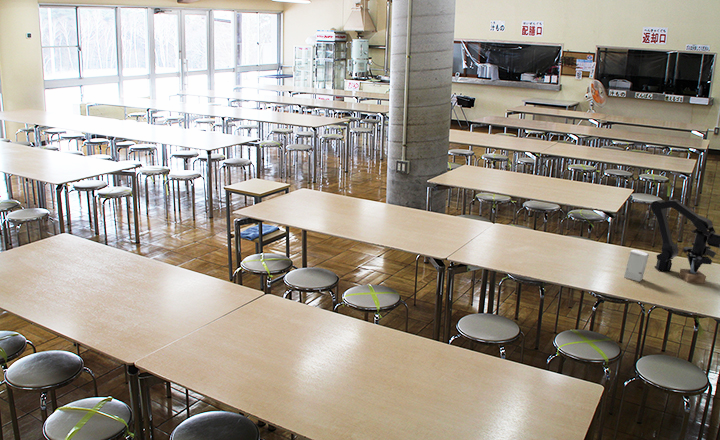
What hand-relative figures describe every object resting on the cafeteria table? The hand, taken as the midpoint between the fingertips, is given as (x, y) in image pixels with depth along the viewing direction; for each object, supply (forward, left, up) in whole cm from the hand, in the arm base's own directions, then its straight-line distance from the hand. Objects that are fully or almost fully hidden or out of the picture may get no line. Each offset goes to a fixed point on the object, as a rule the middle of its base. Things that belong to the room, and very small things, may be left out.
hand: (693, 270), depth 312 cm
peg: (0, 0, -2) cm, 2 cm away
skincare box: (-32, -4, -5) cm, 33 cm away
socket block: (0, 0, -5) cm, 5 cm away
